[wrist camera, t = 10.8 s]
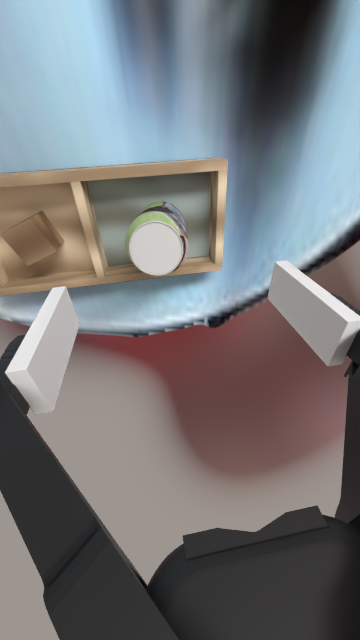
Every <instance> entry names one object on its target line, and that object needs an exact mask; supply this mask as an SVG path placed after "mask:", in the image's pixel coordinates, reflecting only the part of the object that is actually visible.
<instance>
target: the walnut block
mask: <svg viewBox="0 0 360 640" xmlns="http://www.w3.org/2000/svg"><path fill="white" fill-rule="evenodd" d="M0 236H1V237H2V238H3V239H4V240H5V241H6V242H7V244H8V245H9V246H10V247H11V248H12V249H13V250H14V251H15V252H16V253H17V255H18V256H19V257H20V258H21V259H22V260H23V261H24V262H25V263H26V265H27V266H29V265H31V264H33V263H35V262H37V261H39V260H41V259H42V258H44V257H46V256H48V255H50V254H52V253H54V252H56V251H57V250H58V249H59V247H60V246H61V245H62V243H63V242H64V239H63V238H62V237H61V235H60V234H59V233H58V231H57V230H56V228H55V227H54V226H53V224H52V223H51V222H50V220H49V219H48V218H47V216H46V215H45V214H44V212H43V211H40V212H38V213H36V214H34V215H33V216H31V217H29V218H27V219H25V220H23V221H21V222H20V223H18V224H16V225H14V226H13V227H11V228H10V229H8V230H7V231H5V232H3V233H2V234H0Z"/></svg>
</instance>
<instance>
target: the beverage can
mask: <svg viewBox="0 0 360 640" xmlns="http://www.w3.org/2000/svg"><path fill="white" fill-rule="evenodd" d="M125 244H126V251H127V254H128V256H129V259H130V260H131V262H132V263H133V264H134V265H135V266H136V267H137V268H138V269H139V270H140V271H142V272H144V273H146V274H149V275H153V276H163V275H167V274H170V273H172V272H174V271H175V270H177V269H178V268H179V267H180V266H181V265H182V264H183V262H184V260H185V258H186V256H187V253H188V245H189V244H188V237H187V232H186V227H185V222H184V218H183V216H182V214H181V212H180V211H179V210H178V209H177V208H176V207H175V206H174V205H172V204H170V203H168V202H163V201H158V202H154V203H151V204H149V205H148V206H147V207H145V208H144V209H143V211H142V212H141V213H140V214H139V215H138V216H137V218H136V219H135V220H134V221H133V222H132V224H131V225H130V227H129V229H128V231H127V234H126V240H125Z"/></svg>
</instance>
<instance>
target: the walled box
mask: <svg viewBox="0 0 360 640" xmlns="http://www.w3.org/2000/svg"><path fill="white" fill-rule="evenodd" d="M227 167H228V159H223V158H208V159H194V160H181V161H167V162H153V163H139V164H125V165H111V166H98V167H84V168H70V169H56V170H42V171H28V172H15V173H1V174H0V234H2V233H3V232H5V231H7V230H8V229H10V228H11V227H13V226H14V225H16V224H18V223H20V222H21V221H23V220H25V219H27V218H29V217H31V216H33V215H34V214H36V213H38V212H40V211H43V212H44V214H45V215H46V216H47V218H48V219H49V220H50V222H51V223H52V224H53V226H54V227H55V228H56V230H57V231H58V233H59V234H60V235H61V237H62V238H63V239H64V242H63V243H62V245H61V246H60V247H59V249H58V250H57V251H56V252H54V253H52V254H50V255H48V256H46V257H44V258H42V259H41V260H39V261H37V262H35V263H33V264H31V265H29V266H27V265H26V263H25V262H24V261H23V260H22V259H21V258H20V257H19V256H18V255H17V253H16V252H15V251H14V250H13V249H12V248H11V247H10V246H9V245H8V244H7V242H6V241H5V240H4V239H3V238H2V237H1V236H0V296H6V295H14V294H23V293H31V292H40V291H48V290H52V288H55V287H63V286H66V288H73V287H82V286H90V285H99V284H107V283H116V282H124V281H133V280H141V279H150V278H158V277H166V276H175V275H183V274H192V273H200V272H209V271H217V270H222V258H223V240H224V222H225V203H226V185H227ZM158 201H163V202H168V203H170V204H172V205H174V206H175V207H176V208H177V209H178V210H179V211H180V212H181V214H182V216H183V218H184V222H185V227H186V232H187V237H188V244H189V245H188V253H187V256H186V258H185V260H184V262H183V264H182V265H181V266H180V267H179V268H178V269H177V270H175V271H174V272H172V273H170V274H167V275H163V276H153V275H149V274H146V273H144V272H142V271H140V270H139V269H138V268H137V267H136V266H135V265H134V264H133V263H132V262H131V260H130V259H129V256H128V254H127V251H126V244H125V240H126V234H127V231H128V229H129V227H130V225H131V224H132V222H133V221H134V220H135V219H136V218H137V216H138V215H139V214H140V213H141V212H142V211H143V209H144V208H145V207H147V206H148V205H149V204H151V203H154V202H158Z"/></svg>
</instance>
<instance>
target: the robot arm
mask: <svg viewBox="0 0 360 640" xmlns="http://www.w3.org/2000/svg"><path fill="white" fill-rule="evenodd" d="M268 299H269V300H270V301H271V302H272V304H273V305H274V306H275V307H276V308H277V309H278V310H279V312H280V313H281V314H282V315H283V316H284V317H285V318H286V319H287V320H288V322H289V323H290V324H291V325H292V326H293V327H294V329H295V330H296V331H297V332H298V333H299V334H300V335H301V336H302V338H303V339H304V340H305V341H306V342H307V343H308V344H309V346H310V347H311V348H312V349H313V350H314V351H315V352H316V354H317V355H318V356H319V357H320V358H321V359H322V360H323V361H324V363H326V365H327V366H333V365H339V364H342V363H343V361H344V359H345V357H346V355H347V356H349V358H350V359H352V362H351V363H350V365H349V367H348V369H347V371H346V373H345V375H344V376H345V377H346V376H347V375H348V374H349V379H348V395H347V410H346V426H345V441H344V457H343V471H342V486H341V487H342V488H341V498H340V502H339V505H338V508H337V511H336V514H335V518H333V517H329V516H326V515H322V514H321V512H320V510H319V508H318V506H313V507H308V508H304V509H299V510H295V511H290V512H286V513H284V514H283V515H281V516H280V517H278V518H277V519H276V520H274V521H272V522H271V523H269V524H268V525H266V526H265V527H263V528H262V529H261V530H259V531H257V532H247V531H239V530H229V529H221V528H215V529H210V530H206V531H202V532H197V533H193V534H188V535H184V536H183V541H184V543H183V544H182V545H180V546H179V547H178V548H176V549H175V550H174V551H173V552H172V553H170V554H169V555H168V556H167V557H166V558H165V559H164V561H163V562H162V563H161V564H160V566H159V567H158V569H157V570H156V571H155V573H154V575H153V577H152V578H151V580H150V582H149V584H148V585H147V584H146V583H145V581H144V580H143V579H142V577H141V576H140V574H139V573H138V571H137V570H136V569H135V567H134V566H133V565H132V563H131V562H130V560H129V559H128V558H127V556H126V555H125V554H124V552H123V551H122V550H121V548H120V547H119V545H118V544H117V543H116V541H115V540H114V539H113V537H112V536H111V534H110V533H109V531H108V530H107V528H106V527H105V526H104V525H103V523H102V521H101V520H100V519H99V517H98V516H97V514H96V513H95V512H94V510H93V509H92V507H91V506H90V504H89V503H88V502H87V500H86V499H85V497H84V496H83V495H82V493H81V492H80V491H79V489H78V488H77V486H76V485H75V483H74V482H73V480H72V479H71V478H70V476H69V475H68V473H67V472H66V471H65V470H64V468H63V466H62V465H61V464H60V462H59V461H58V459H57V458H56V456H55V455H54V454H53V452H52V451H51V449H50V448H49V447H48V445H47V444H46V442H45V441H44V440H43V438H42V437H41V436H40V434H39V433H38V431H37V430H36V428H35V427H34V425H33V424H32V423H31V421H30V420H29V419H28V417H27V416H26V415H27V413H28V410H29V408H31V409H32V411H33V412H34V414H35V415H37V414H42V413H49V412H53V411H54V408H55V404H56V401H57V398H58V394H59V391H60V388H61V384H62V381H63V378H64V374H65V371H66V368H67V364H68V360H69V357H70V354H71V351H72V347H73V344H74V341H75V337H76V334H77V331H78V327H79V324H80V322H79V320H78V317H77V314H76V312H75V309H74V306H73V304H72V301H71V299H70V296H69V293H68V291H67V288H66V286H63V287H55V288H52V290H51V291H50V293H49V295H48V297H47V298H46V300H45V302H44V304H43V306H42V307H41V309H40V311H39V313H38V314H37V316H36V318H35V320H34V322H33V323H32V325H31V327H30V329H29V331H28V332H27V334H26V335H21V336H17V337H16V338H15V339H14V340H13V341H12V342H11V343H10V344H9V345H8V347H7V348H6V350H5V353H3V355H2V356H1V359H0V490H1V493H2V495H3V497H4V499H5V501H6V503H7V505H8V508H9V510H10V512H11V514H12V516H13V518H14V520H15V523H16V525H17V527H18V529H19V531H20V533H21V535H22V538H23V540H24V542H25V544H26V546H27V548H28V550H29V553H30V555H31V557H32V559H33V561H34V563H35V565H36V567H37V570H38V572H39V574H40V576H41V578H42V581H43V583H44V594H43V597H44V602H45V606H46V609H47V611H48V614H49V616H50V619H51V621H52V623H53V625H54V628H55V630H56V632H57V635H58V637H59V639H60V640H360V311H359V310H358V309H356V308H354V306H352V305H351V304H349V303H348V302H347V301H345V300H344V299H343V298H341V297H339V296H337V295H334V294H332V293H328V292H327V291H326V290H324V289H323V288H322V287H321V286H319V285H318V284H316V283H315V282H314V281H313V280H311V279H310V278H309V277H307V276H306V275H305V274H303V273H302V272H301V271H299V270H298V269H297V268H295V267H294V266H293V265H291V264H290V263H289V262H287V261H277V262H275V263H274V268H273V274H272V279H271V284H270V289H269V294H268Z"/></svg>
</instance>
